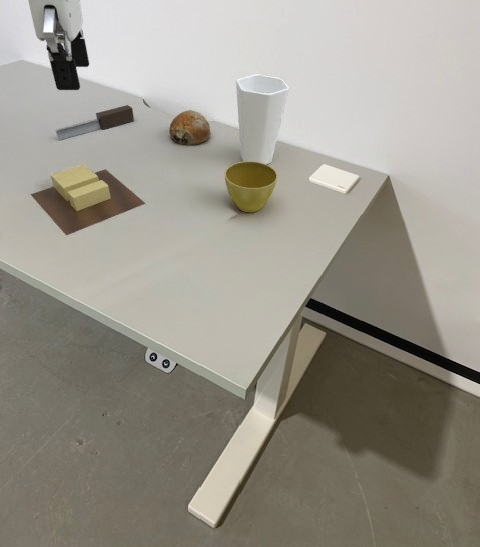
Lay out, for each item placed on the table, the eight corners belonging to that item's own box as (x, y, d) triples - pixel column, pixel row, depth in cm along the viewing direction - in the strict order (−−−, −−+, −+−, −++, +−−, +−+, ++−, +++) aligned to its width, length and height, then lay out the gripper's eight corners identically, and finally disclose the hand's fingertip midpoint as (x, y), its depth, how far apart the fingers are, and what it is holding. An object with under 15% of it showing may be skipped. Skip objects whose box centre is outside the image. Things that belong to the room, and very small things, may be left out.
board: (68, 241, 74) (66, 235, 73) (32, 200, 82) (30, 194, 81) (146, 209, 82) (145, 203, 81) (106, 175, 90) (105, 169, 89)
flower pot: (214, 200, 85) (214, 169, 80) (253, 186, 90) (256, 156, 85) (243, 226, 79) (245, 194, 74) (283, 209, 84) (288, 178, 79)
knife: (129, 117, 111) (127, 104, 109) (134, 121, 110) (132, 107, 107) (56, 138, 101) (52, 124, 99) (60, 142, 100) (56, 127, 97)
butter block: (67, 201, 80) (63, 188, 78) (53, 187, 83) (49, 174, 81) (100, 189, 84) (97, 176, 81) (86, 176, 87) (83, 163, 85)
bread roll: (211, 155, 106) (223, 124, 102) (178, 147, 99) (190, 114, 95) (191, 139, 111) (202, 109, 108) (159, 131, 104) (169, 99, 101)
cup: (230, 148, 101) (233, 74, 89) (270, 146, 103) (278, 73, 91) (240, 172, 93) (244, 95, 82) (283, 169, 95) (293, 93, 83)
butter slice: (76, 211, 78) (73, 197, 76) (70, 205, 79) (67, 191, 77) (110, 198, 81) (108, 185, 79) (104, 192, 83) (101, 179, 81)
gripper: (27, -75, 58) (59, 58, 70) (-11, -59, 45) (35, 99, 57) (84, -73, 59) (105, 58, 71) (61, -56, 46) (92, 99, 58)
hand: (74, 77), depth 64 cm, fingers open, 9 cm apart
